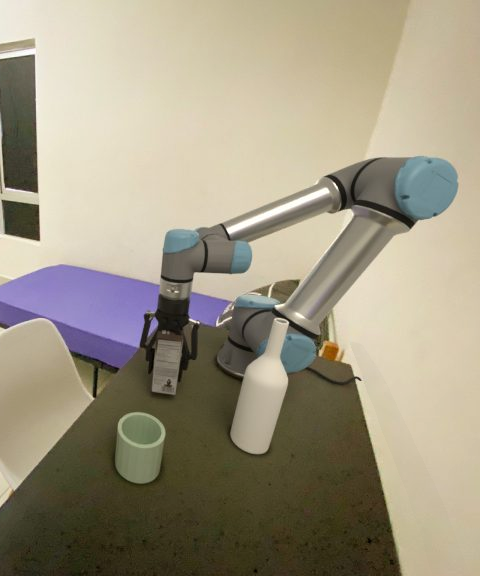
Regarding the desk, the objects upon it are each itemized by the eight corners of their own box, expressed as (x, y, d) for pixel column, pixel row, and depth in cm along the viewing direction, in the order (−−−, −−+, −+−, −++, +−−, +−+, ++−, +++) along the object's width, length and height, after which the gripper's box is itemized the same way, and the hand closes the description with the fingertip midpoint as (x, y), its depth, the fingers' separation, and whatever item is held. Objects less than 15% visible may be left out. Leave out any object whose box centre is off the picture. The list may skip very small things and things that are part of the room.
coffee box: (152, 371, 94) (157, 320, 88) (175, 374, 92) (182, 323, 87) (151, 392, 85) (156, 337, 79) (176, 396, 84) (184, 340, 78)
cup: (164, 454, 70) (169, 420, 67) (153, 491, 62) (159, 454, 59) (123, 439, 73) (126, 406, 70) (108, 472, 65) (110, 437, 62)
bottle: (261, 461, 70) (299, 335, 59) (223, 439, 75) (252, 319, 64) (273, 440, 75) (310, 321, 64) (238, 421, 80) (266, 308, 69)
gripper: (129, 292, 80) (124, 372, 88) (216, 308, 73) (202, 394, 81) (138, 283, 87) (132, 358, 95) (219, 296, 79) (205, 377, 87)
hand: (164, 375), depth 88 cm, fingers closed on coffee box, 7 cm apart
